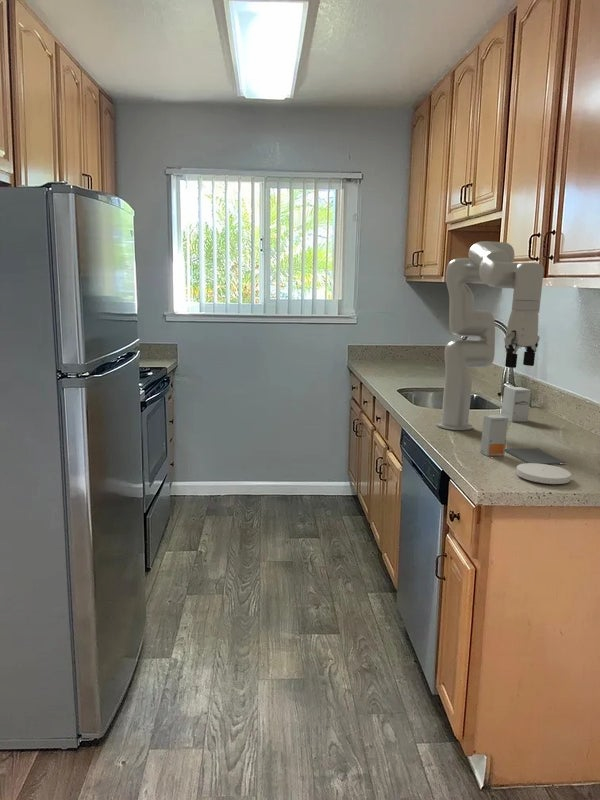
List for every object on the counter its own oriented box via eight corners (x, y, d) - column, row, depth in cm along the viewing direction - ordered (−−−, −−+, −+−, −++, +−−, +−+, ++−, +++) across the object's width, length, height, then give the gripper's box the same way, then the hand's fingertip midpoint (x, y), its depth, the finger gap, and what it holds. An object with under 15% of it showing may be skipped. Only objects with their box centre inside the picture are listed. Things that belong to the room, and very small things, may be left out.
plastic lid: (504, 475, 177) (505, 466, 177) (538, 469, 184) (539, 460, 184) (546, 490, 166) (547, 481, 165) (581, 483, 173) (582, 474, 172)
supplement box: (511, 422, 245) (515, 389, 243) (500, 418, 252) (503, 386, 250) (528, 421, 247) (531, 389, 245) (516, 417, 254) (520, 386, 252)
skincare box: (487, 456, 195) (490, 418, 193) (479, 452, 199) (483, 415, 197) (504, 455, 196) (508, 417, 194) (496, 452, 200) (500, 414, 198)
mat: (503, 450, 203) (503, 448, 203) (537, 449, 205) (538, 448, 205) (529, 464, 188) (529, 463, 187) (566, 464, 190) (566, 462, 190)
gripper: (529, 306, 191) (523, 363, 194) (497, 306, 180) (491, 366, 183) (553, 307, 186) (546, 366, 189) (521, 307, 174) (515, 369, 178)
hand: (519, 366), depth 186 cm, fingers open, 9 cm apart
